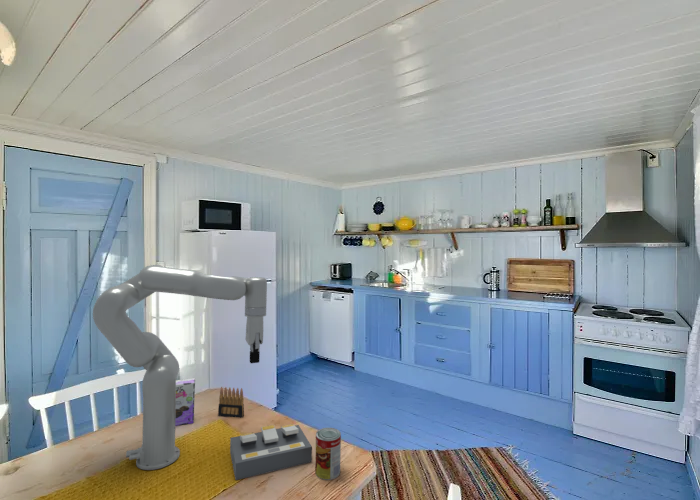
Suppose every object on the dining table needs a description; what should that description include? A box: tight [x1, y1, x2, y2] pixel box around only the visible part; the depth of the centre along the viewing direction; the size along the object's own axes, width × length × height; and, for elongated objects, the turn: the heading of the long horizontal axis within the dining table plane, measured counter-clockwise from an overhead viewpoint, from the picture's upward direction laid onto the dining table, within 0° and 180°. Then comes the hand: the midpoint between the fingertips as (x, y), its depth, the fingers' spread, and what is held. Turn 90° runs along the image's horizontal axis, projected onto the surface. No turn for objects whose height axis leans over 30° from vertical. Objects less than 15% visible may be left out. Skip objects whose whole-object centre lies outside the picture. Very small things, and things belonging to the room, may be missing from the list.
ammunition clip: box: [217, 386, 245, 419], centre depth 146 cm, size 11×2×12 cm, turn 83°
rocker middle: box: [260, 424, 278, 444], centre depth 119 cm, size 4×7×1 cm, turn 24°
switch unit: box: [229, 424, 313, 481], centre depth 117 cm, size 24×16×6 cm, turn 114°
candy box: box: [175, 377, 196, 427], centre depth 140 cm, size 14×6×16 cm, turn 112°
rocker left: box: [239, 432, 257, 443], centre depth 116 cm, size 4×7×1 cm, turn 24°
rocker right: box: [280, 423, 299, 435], centre depth 122 cm, size 4×7×1 cm, turn 24°
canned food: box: [314, 427, 342, 481], centre depth 110 cm, size 8×8×12 cm
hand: (254, 362), depth 126 cm, fingers closed
